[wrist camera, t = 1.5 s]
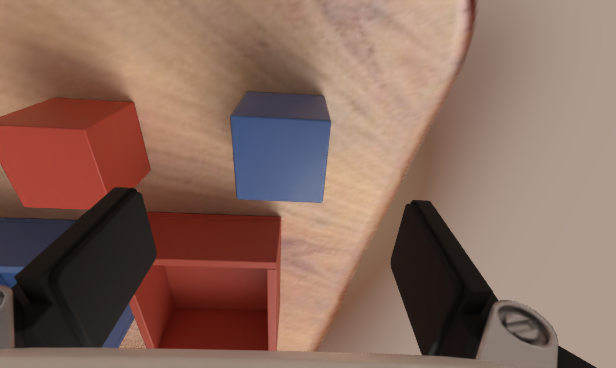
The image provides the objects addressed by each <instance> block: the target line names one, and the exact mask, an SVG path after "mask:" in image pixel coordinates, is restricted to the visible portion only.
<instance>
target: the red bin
mask: <svg viewBox="0 0 616 368" xmlns="http://www.w3.org/2000/svg"><path fill="white" fill-rule="evenodd" d="M147 216H148V220H149V223H150V227H151V231H152V235H153V239H154V242H155V246H156V250H157V255H156V259H155V261H154V263H153V265H152V266H151V268H150V270H149V271H148V273H147V274H146V276H145V278H144V279H143V281H142V283H141V284H140V286H139V287H138V289H137V291H136V292H135V294H134V296H133V297H132V299H131V301H130V302H129V305H130V308H131V310H132V313H133V315H134V318H135V320H136V323H137V325H138V328H139V330H140V333H141V335H142V338H143V340H144V343H145V345H146V348H153V349H210V350H257V351H277V338H278V324H279V311H280V254H281V217H269V216H243V215H216V214H189V213H163V212H147Z"/></svg>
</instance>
